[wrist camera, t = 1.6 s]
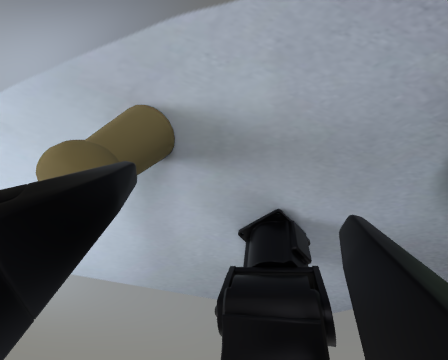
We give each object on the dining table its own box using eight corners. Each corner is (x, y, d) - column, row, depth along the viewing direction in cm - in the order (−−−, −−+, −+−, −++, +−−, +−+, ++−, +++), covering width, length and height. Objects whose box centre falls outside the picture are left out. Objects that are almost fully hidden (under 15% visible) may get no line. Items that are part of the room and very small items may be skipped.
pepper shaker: (185, 146, 22) (127, 212, 13) (145, 167, 25) (72, 237, 15) (149, 92, 20) (48, 127, 11) (109, 122, 22) (-2, 171, 13)
